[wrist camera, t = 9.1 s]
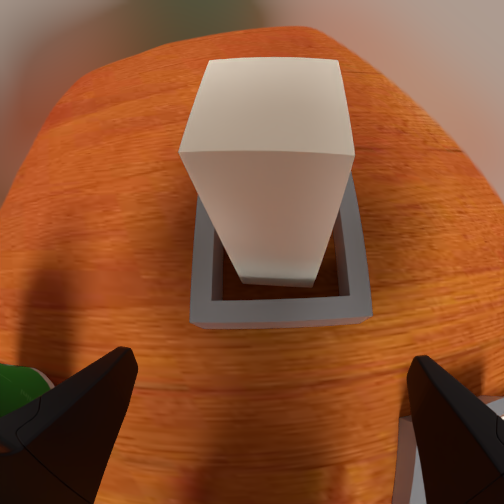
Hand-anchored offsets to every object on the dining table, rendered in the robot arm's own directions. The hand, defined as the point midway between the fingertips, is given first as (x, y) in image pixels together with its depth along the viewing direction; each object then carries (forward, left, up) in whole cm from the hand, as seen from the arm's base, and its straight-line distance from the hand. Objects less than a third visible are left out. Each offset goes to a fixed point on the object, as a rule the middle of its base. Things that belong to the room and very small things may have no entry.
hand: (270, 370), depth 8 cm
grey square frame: (+7, 0, -10) cm, 12 cm away
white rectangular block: (+7, 0, -10) cm, 12 cm away
